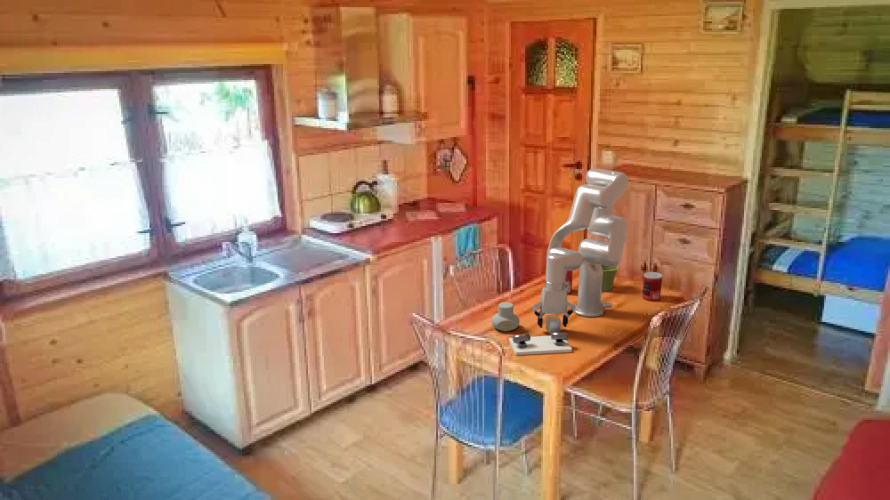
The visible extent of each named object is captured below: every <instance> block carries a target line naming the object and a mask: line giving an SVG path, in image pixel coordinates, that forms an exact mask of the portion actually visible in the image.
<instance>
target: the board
mask: <svg viewBox="0 0 890 500" xmlns="http://www.w3.org/2000/svg"><path fill="white" fill-rule="evenodd" d="M530 337H531V340H530V341H526V343H527V347H525V348H520V347H519V346H518V345H517V344H516V343H514V342H513V337H509V338H508V342H509V344H510V347H511V349H512V350H513V352H514V355H515V356H524V355H527V356H528V355H543V354H559V353H563V354H564V353H572V352H573V348H572V347H571V346H570V344H569V342H568V340H563V346H556V340H551V335H541V336H538V335H537V336H530Z"/></svg>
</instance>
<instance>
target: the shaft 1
mask: <svg viewBox="0 0 890 500" xmlns="http://www.w3.org/2000/svg"><path fill="white" fill-rule="evenodd" d="M531 337H532V336H531V335H530V333H528V332H527V333H523V334H522V333H521V334H517V335H516V334H514V335H512V338H513V342H514V343H516V344H517V345H518V346H519V347H520V348H525V347H527V343H526V341H530V340H531Z"/></svg>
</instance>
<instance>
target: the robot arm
mask: <svg viewBox="0 0 890 500" xmlns="http://www.w3.org/2000/svg"><path fill="white" fill-rule="evenodd" d="M585 182H586V183H585V184H581V185H579V186H578V188H576V191H575V195H574V197H573V201H572V204H571V208H570V212H569V214H568V219H566V220H567V221H566V222H565V223H563V224H561V226H559V228H557V229H556V230H555V232H554V233H553V234H552V236H551V238H550V240H549V244H548V247H547V251H546V267H545V283H544V284H545V285H544V286H543V287H542V289H541V294H540V297H539V298H540V301H539V302H537V303H536V304H534V305H532V306H531V309H532V311H533V314H534V315H535V316H536V317H537V325H538V327H539V328H540V329H542V328H543V322H544V319H543V317H544V316H545V315H558V314H559V315H560V314H563V315H562V322H561V325H563V327H565V328H567V326H568V324H569V318H570V316H571V315H572V314H573V313H575V314H577V315H578V316H582V317H584V318H586V317H588V318H597V317H601V316H602V315H604V313H605V308H610V309H611V308H612V307H613V304H612V302H608V301H602V292H603V291H602V280H603V270H602V267H601V265H604V266H608V267H615V266H617V265H618V266H619V263H620V262H621V260H622V256H623V251H624V247H625V242H626V239H627V234H628V222H627V221H626V219H625V218H623V217H621V216H619V215H614V214H613V210H614V205H615V202H617V200H618V199H619V198H621V196H622V195H623V194H624V193H626V190H627V188H628V186H629V178H628V175H627V174H626V173H624V172H621V171H617V170H609V169H604V168H591V169H589V170H588V171H587V172H586V174H585ZM582 230H583V231H584V230H587V232H588V233H589V234H591V235H592V236H596V237H600V238H604V239H607V240H608V239H609V240H608V241H605V240H602V239H601V240H600V239H597V238H592V237H591V238H585V239H583V240H581V241H580V243H579V244H578V250H573V249H569V248H565V247H562V243H563V241H564V239H565V238H566V237H568V236H569V235H570V234H572V233H575V232H578V231H579V232H580V231H582ZM578 269H579V271H578V272H579V274H578V275H579V276H578V287H577V288H578V290H577V291H578V292H577V304H574V303H571V302H570V301H568V294H567V290H566V287H565V286H567V285H569V282H566V281H565V278H566V271H572V270H573V271H576V270H578ZM568 307H569V309H568ZM537 309H539V311H537Z"/></svg>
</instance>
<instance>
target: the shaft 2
mask: <svg viewBox="0 0 890 500" xmlns="http://www.w3.org/2000/svg"><path fill="white" fill-rule="evenodd" d="M550 336H551V340H556V346H563V340H566V341H568V340H569V333H568V332H561V331H560V332H551V334H550Z"/></svg>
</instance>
